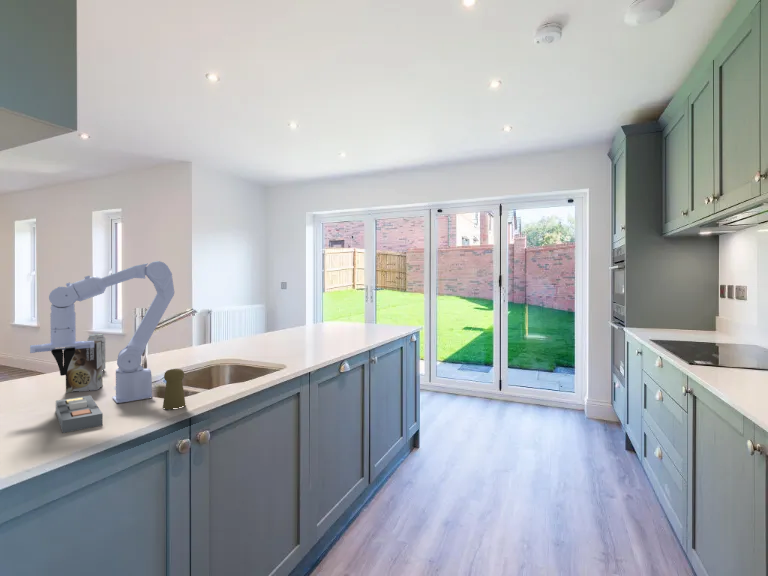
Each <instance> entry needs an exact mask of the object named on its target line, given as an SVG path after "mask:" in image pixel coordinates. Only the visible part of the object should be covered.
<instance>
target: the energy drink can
mask: <svg viewBox="0 0 768 576" xmlns="http://www.w3.org/2000/svg"><path fill="white" fill-rule="evenodd" d="M104 335H105V334H104V333H103V334H102V333H95V334H93V333H92V334H89V335H88V338H87V339H86V341H101V340H102V370H104V371H105V370H106V337H105V336H104Z"/></svg>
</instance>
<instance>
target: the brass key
mask: <svg viewBox="0 0 768 576" xmlns="http://www.w3.org/2000/svg"><path fill="white" fill-rule="evenodd" d="M75 398H76V399H70V398H69V399H70V400H66V404H69V401H75V400H81V399H83V398H77V397H75Z"/></svg>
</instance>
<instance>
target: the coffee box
mask: <svg viewBox="0 0 768 576" xmlns="http://www.w3.org/2000/svg"><path fill="white" fill-rule="evenodd" d="M64 348H69V347H64ZM75 351H76V352H75V354H74V356H73V358H72V360H71V362H70V364H69V367H68V370H67V375H65V393H66V392H67V393H74V392H73V391H79V392H88V391H89V390H90V391H97V390H99V389H101V388H102V387H103V386H104V385H103V382H104V381H103V372H102V340H101V341H94V348H80V349H75ZM100 387H101V388H100Z"/></svg>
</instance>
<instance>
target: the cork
mask: <svg viewBox="0 0 768 576" xmlns="http://www.w3.org/2000/svg"><path fill="white" fill-rule="evenodd" d="M163 377H164V380H165V382H166V383H165V389H164V396H163V402H162V403H163V404H162V409H163V408H165V409H173V408H179V407H182V406H185V404H186V399H185V393H184V392H185V391H184V384H183V379H184V377H185V371H184V370H183V369H180V368H173V369H172V368H171V369H168V370H166V371H165V372H164V375H163ZM185 407H186V406H185Z"/></svg>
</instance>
